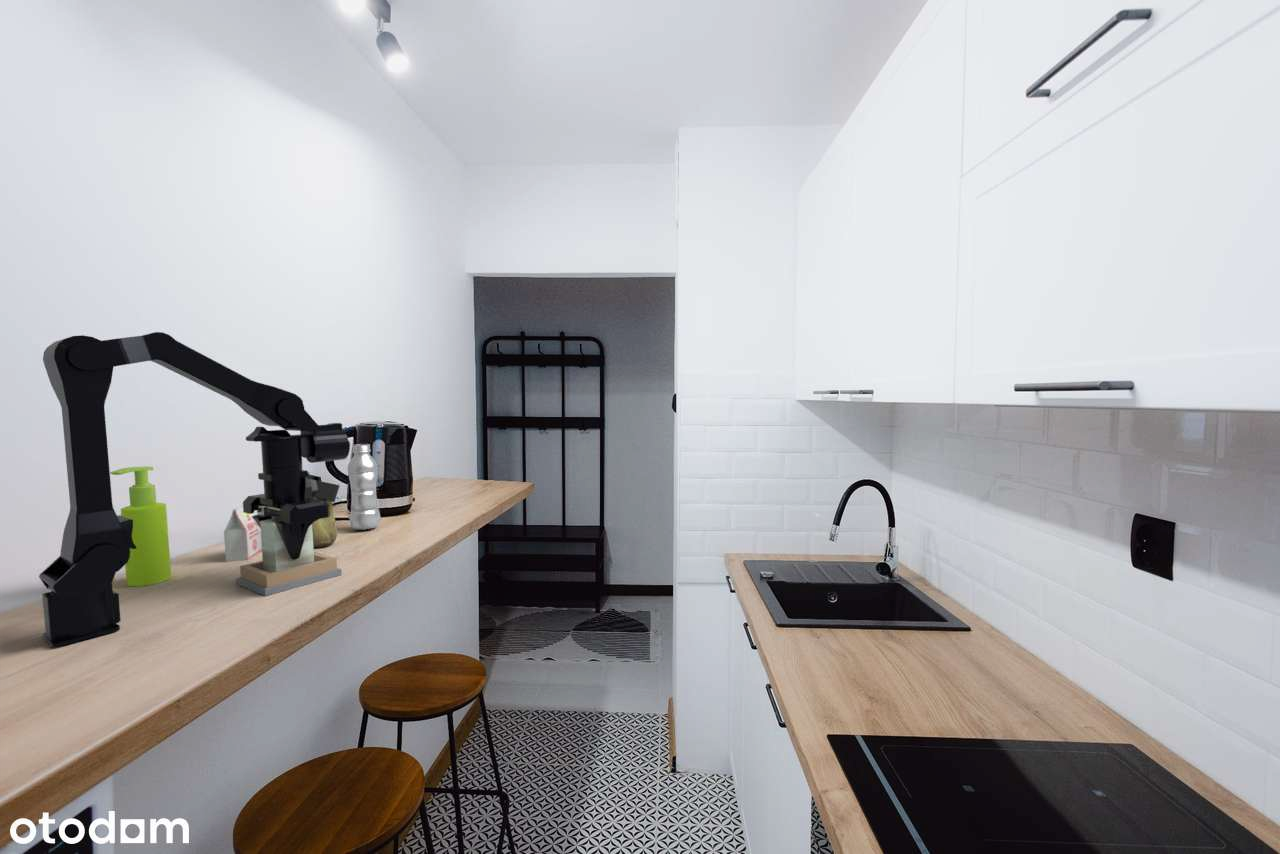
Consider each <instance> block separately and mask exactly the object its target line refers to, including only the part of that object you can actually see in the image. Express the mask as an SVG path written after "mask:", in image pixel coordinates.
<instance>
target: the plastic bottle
mask: <svg viewBox="0 0 1280 854" xmlns="http://www.w3.org/2000/svg"><path fill="white" fill-rule="evenodd" d="M370 453H371V444H369V443H359V444H352V454H353V456H352V458H351V459H350V461H349V462H348V464H347V474H348V480H349V484H350V491H351V492H350V494H351V495H350V496H351V503H350V504H351V505H350V513H349V523H350V527H351V528H352V529H353V530H357V531H367V530H366V529H368V530H371V529H374V528H377V527H378V526H379V524H380V522H381V514H380V513H381V512H380V509H379V505H378V497H377V480H378V479H377V477H378V470H379V468H378V467H379V466H378V464H377V461H376V460H375V458H374V457H373V456H372V455H371V454H370Z"/></svg>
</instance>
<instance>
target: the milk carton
mask: <svg viewBox="0 0 1280 854" xmlns="http://www.w3.org/2000/svg"><path fill="white" fill-rule="evenodd" d="M231 512H232V513H231V516H230V518H229V520H228V522H227V524H226V527H225V529H224V531H223V536H224V537H223V539H224V552H225V562H226V563H230V562H243V561H249V560H250V559H252V558H253V557H254V556H257V555H258V554H259V553H262V542H261V528H260V527H259V525H258V524H257V523H256V521H255V520H254V519H253V518H252V516H255V515H256V514H255V512H254V513H252V514H248V513H244V512H243V505H241V506H239V507H236V508H235V509H232V511H231Z"/></svg>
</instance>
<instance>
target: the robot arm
mask: <svg viewBox="0 0 1280 854" xmlns="http://www.w3.org/2000/svg"><path fill="white" fill-rule="evenodd" d="M42 361H43V365H44V368H45V372H46V374H47V377H48V380H49V383H50V386H51V388H52V390H53V392H54V393H55V396H56V398H57V400H58V402H59V404H60V407H61V415H62V416H61V417H62V427H63V438H64V440H63V441H64V450H65V451H64V452H65V460H66V461H65V462H66V473H67V483H68V484H67V486H68V494H69V495H68V496H69V498H68V499H69V506H70V509H69V513H68V516H67V519H66V522H65V526H64V529H63V533H62V534H63V535H62V539H61V547H60V556H59V555H58V557H57V558H56V559H54V561H52V563H51V564H49V565H48V566H47V567H46V568H45V569H44V570H43V571H42V572H41V573H39V574H38V575H39V576H38V578H39V579H40V581H41V582H42V583H43V585H44V586H45V587H46V589H49V590H50V591H49V592H43V593H41V597H42V606H43V617H44V627H45V628H44V629H45V632H43V633H42V634H41V635H42V638H43V639H44V640H45V641H46V642H47V643H48V644H49V646H51V647H52V648H58V647H61V646H62V647H63V646H65V645H68V644H72V643H76V642H81V641H83V640H88V639H91V638H95V637H98V636H102V635H106V634H108V633H109V634H111V633H113V632H116V631H119V630H120V629H121V627H120V625H119V624H118V623H120V622H121V619H122V618H121V609H120V596H119V593H118V592H116V591H115V590H113V581H114V579H115V576H116V573H118V572H119V571H120V570H122V568H123V567H125V564H127V562H128V560H129V557H130V548H132V549H136V546H135V544H134V543H133V540H132V530H133V520H132V519H129V518H126V517H123V516H121V514H120V515H119V514H118V515H117V513H116V511H115V509H114V505H113V496H112V495H113V494H112V486H111V485H112V481H111V473H110V471H111V469H110V459H109V449H108V437H107V424H106V412H105V411H106V410H105V405H106V400H107V396H108V393H109V390H110V387H111V385H112V379H113V372H114V367H119V366H126V365H132V364H139V363H143V362H149V361H150V362H153V363H155V364H157V365H159V366H162V367H163V368H165V369H168V370H169V371H171V372H174V373H176V374H177V375H179V376H182V377H185V378H186V379H188V380H190V381H193V383H196V384H198V385H200V386H202V387H204V388H206V389H209V390H210V391H212V392H214V393H217V394H219V395H220V396H223V397H225V398H227V399H229V400H231V401H232V402H233V403H235V404H236V405H237V406H238V407H240V409H242V411H243V412H245V413H246V414H248V415H249V416H250V417H252V418H253V419H255V420H256V421H257V422H258V423H260V424H262V425H265V426H268V427H280V428H281V429H274V430H267V428H265V427H264V426H256V427H255V429H254V430H253V431H252V432H251V433H250V434H248V435H247V436H246V437H245V440H246V441H247V442H260V446H261V460H262V461H261V463H262V472H260V473H258V474H257V476H258V477H257V478H258V480H260V481H261V480H262V481H263V491H264V492H263V493H261V494H254V495H248V496H247V497H246V498H245V499H244V500H243V502H242V506H243V512H244V513H248V514H252V513H254V514H255V511H256V514H255V516H252V518H253V519H254V520H255V521H256V523H257V524H258V525H259V527H260V521H263V520H269V519H272V516H277V515H280V517H281V519H282V521H278V522H275V524H276V526H277V528H278V531H279V533H280V535H281V537H282V540H283V542H284V544H285V546H286V549H287V551H288V553H289V555H290V557H291V559H298V558H299V557H300V553H301V550H302V546H303V543H304V539H305V536H306V533H307V530H308V528H309V526H310V525H311V524H312V523H314V522H315V521H317V520H319V519H321V518H327V517H330V505H328V504H327V503H326V502H325V501H327V500H328V501H330V502H332V503H335V502H336V499H337V496H338V492H339V489H340V485H339V484H335V483H331V482H326V481H322V477H321V476H316V475H314V474H310V472H309V471H308V470H305V469H304V470H303V458H304V459H306V460H307V462H309V463H312V464H313V463H324V462H332V461H341V460H346V459H347V458H348V456H349V454H350V452H351V451H350V450H351V449H350V448H351V443H350V442H351V441H350V440H349V438H348V435H347V433H346V431H344V429H343V424H342V423H341V422H332V423H327V424H318V423H317V422H316V421H315V420H314V419H313V418H312V416H311V415H310V414H309V413H308V412H307V411H306V410H305V405H304V401H303V399H302V398H301V397H300V396H299V395H297V394H296V393H293V392H291V391H288V390H286V389H283V388H280V387H279V388H278V387H276V386H272V385H269V384H265V383H261V382H257V381H255V380H252V379H250V378H248V377H246V376H244V375H242V374H241V373H238V372H236V371H235V370H232V369H231V368H229V367H227V366H226V365H224V364H221V363H219V362H218V361H216V360H214V359H213V358H210V357H208V356H206V355H204V354H203V353H201V352H199V351H197V350H194V349H193V348H192V347H189V346H187V345H185V344H184V343H182V342H180V341H178V340H177V339H175V338H174V337H173V336H171V335H170V334H168V333H165V332H161V331H155V332H151V333H150V332H149V333H147V334H142V335H137V336H128V337H127V336H126V337H120V338H118V337H117V338H112V339H105V340H101V339H98V338H96V337H93V336H89V335H82V334H81V335H73V336H69V337H66V338H62V339H60V340H56V341H54V342H52V343H51V344H50V345H48V346H47V347H46V348H45V350H44V351H43V357H42ZM289 431H293V432H294V431H296V432H300V434H290V432H289ZM312 497H315V498H316V499H318V500H316V499H312ZM322 500H325V501H322ZM260 529H261V527H260Z"/></svg>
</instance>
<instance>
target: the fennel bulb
mask: <svg viewBox="0 0 1280 854" xmlns="http://www.w3.org/2000/svg"><path fill="white" fill-rule="evenodd" d="M312 499H316V498H315V497H312ZM316 500H319V499H316ZM322 501H325V500H322ZM325 502H326V503H327V504H328V505H330V517H327V518H321V519H319V520H317V521H315V522H314V523H312V532H313V548H325V547H329V546H331V545H332V544H334V543H335V542H336V540H337V537H338V530H337V522H336V518H335V513H334V510H333V502H330V501H328V500H327V501H325Z"/></svg>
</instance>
